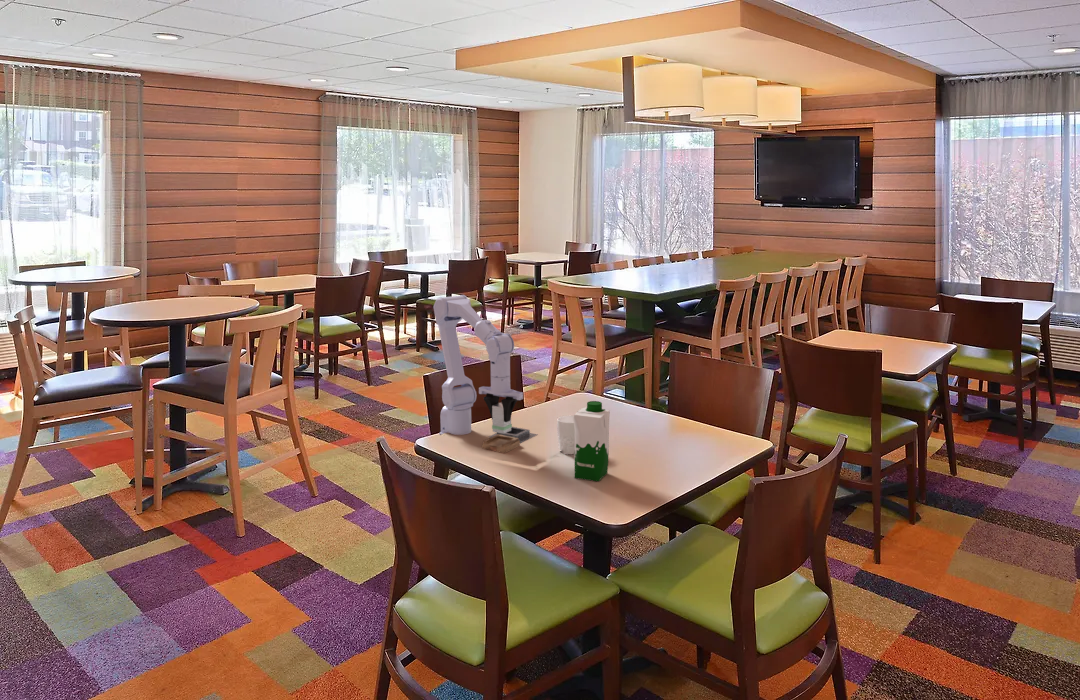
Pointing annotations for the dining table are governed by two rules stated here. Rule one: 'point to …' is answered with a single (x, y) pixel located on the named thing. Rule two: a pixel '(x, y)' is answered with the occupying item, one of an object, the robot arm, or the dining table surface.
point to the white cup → (566, 434)
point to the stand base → (518, 434)
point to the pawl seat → (501, 443)
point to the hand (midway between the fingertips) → (500, 420)
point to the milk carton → (591, 441)
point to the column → (499, 419)
